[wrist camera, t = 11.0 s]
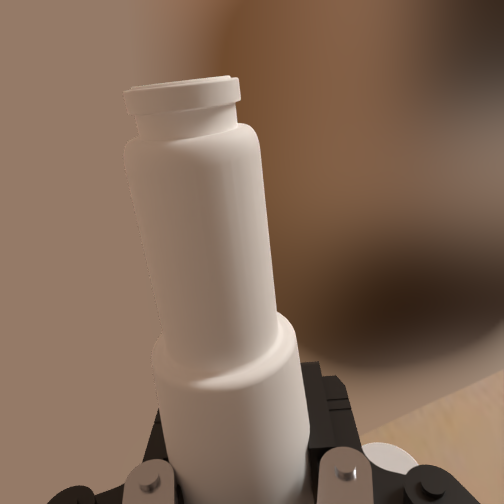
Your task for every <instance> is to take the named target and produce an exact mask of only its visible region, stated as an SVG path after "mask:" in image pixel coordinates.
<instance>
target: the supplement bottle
mask: <svg viewBox="0 0 504 504" xmlns="http://www.w3.org/2000/svg"><path fill="white" fill-rule="evenodd" d="M362 449H363V452H364V453H365V455H366V456H367V458H368V459H369V460H370V461H371V462H373V463H374V464H375V465H377V466H378V467H380V468H383V469H385V470H388V471H392V472H396V473H401V474H405V475H406V474H407V472H408V471H409V470H410V469H411V468H413V467H415V466H418V464H417V462H416V461H415V460H414V458H413V457H412V456H411V455H409V454H408V453H407V452H406V451H404V450H402V449H401V448H399V447H396V446H394V445H391V444H387V443H369V444H365V445H363V446H362Z"/></svg>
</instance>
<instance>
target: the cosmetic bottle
mask: <svg viewBox="0 0 504 504" xmlns="http://www.w3.org/2000/svg"><path fill="white" fill-rule="evenodd" d="M123 97H124V101H125V106H126V111H127V114H129V115H134V117H135V121H136V126H137V130H138V135H139V136H138V137H135V138H133V139H131V140H130V141H128V142H127V144H126V145H125V148H124V153H123V160H124V168H125V173H126V177H127V181H128V185H129V190H130V194H131V199H132V203H133V207H134V212H135V216H136V220H137V224H138V229H139V233H140V237H141V242H142V246H143V250H144V255H145V259H146V263H147V268H148V272H149V276H150V281H151V285H152V289H153V294H154V298H155V302H156V307H157V310H158V315H159V320H160V324H161V328H162V333H161V335H160V336H159V337H158V339H157V340H156V342H155V344H154V347H153V350H152V354H151V363H152V369H153V376H154V382H155V388H156V394H157V400H158V405H159V411H160V417H161V423H162V429H163V434H164V439H165V444H166V450H167V454H168V459H169V464H170V465H171V466H172V468H173V470H174V474H175V478H176V482H177V483H178V484H179V486H180V487H181V490H182V495H183V499H184V504H314V499H313V491H312V479H311V467H310V456H309V444H308V440H309V434H310V424H309V417H308V410H307V403H306V397H305V390H304V384H303V378H302V371H301V365H300V359H299V352H298V346H297V341H296V335H295V331H294V329H293V327H292V325H291V324H290V322H289V321H288V320H287V319H286V318H285V317H284V316H282V315H281V314H280V313H278V312H277V310H276V300H275V290H274V281H273V271H272V262H271V252H270V242H269V232H268V223H267V214H266V203H265V194H264V185H263V184H264V183H263V173H262V165H261V154H260V145H259V141H258V138H257V135H256V133H255V131H254V130H253V129H252V128H251V127H250V126H249V125H246V124H241V123H237V117H236V107H235V102H237V101H239V100H241V96H240V87H239V79H238V78H231V77H230V76H219V77H211V78H203V79H194V80H186V81H177V82H169V83H161V84H152V85H144V86H137V87H131V88H130V90H128V91H124V92H123Z"/></svg>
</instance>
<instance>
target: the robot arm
mask: <svg viewBox="0 0 504 504" xmlns="http://www.w3.org/2000/svg"><path fill="white" fill-rule="evenodd" d="M300 365H301V371H302V378H303V384H304V390H305V397H306V403H307V410H308V417H309V424H310V434H309V440H308V444H309V456H310V467H311V479H312V491H313V499H314V504H480V503H479V502H478V501H477V500H476V499H475V498H474V497H473V496H472V495H471V494H470V493H469V492H468V491H467V490H466V489H465V488H464V487H463V486H462V485H461V484H460V483H459V482H458V481H457V480H456V479H455V478H454V477H453V476H452V475H451V474H450V473H448V472H447V471H445V470H443V469H442V468H439V467H436V466H432V465H418V466H415V467H413V468H411V469H410V470H409V471H408V472H407V474H406V475H405V474H401V473H396V472H392V471H388V470H385V469H383V468H380V467H378V466H377V465H375V464H374V463H373V462H371V461H370V460H369V459H368V458H367V456H366V455H365V453H364V452H363V449H362V446H361V443H360V439H359V435H358V431H357V428H356V424H355V421H354V417H353V413H352V411H351V406H350V402H349V399H348V395H347V391H346V387H345V385H344V384H343V383H342V382H341V381H340V379H339V378H338V377H337V376H325V377H324V376H323V377H322V375H321V370H320V365H319V361H317V362H305V363H300ZM157 412H158V413H157V415H156V418H155V421H154V425H153V428H152V431H151V435H150V438H149V441H148V445H147V448H146V451H145V455H144V459H143V462H142V463H141V464H140V465H138V466H137V467H135V468H134V469H133V470H132V471H131V473H130V474H129V475H128V477H127V479H126V482H125V483H124V484H123V485H121V486H119V487H116V488H114V489H111V490H108V491H106V492H103V493H100V494H97V495H94V493H93V491H92V490H91V489H90V488H88V487H86V486H73V487H70V488H67V489H65V490H63V491H61V492H60V493H58V494H57V495H56V496H54V497H53V498H52V499H51V500H50V501H49V502H48V503H47V504H184V499H183V495H182V490H181V487H180V486H179V484H178V483H177V482H176V478H175V474H174V470H173V468H172V466H171V465H170V464H169V459H168V454H167V450H166V444H165V439H164V434H163V429H162V423H161V417H160V411H159V408H158V411H157Z"/></svg>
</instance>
